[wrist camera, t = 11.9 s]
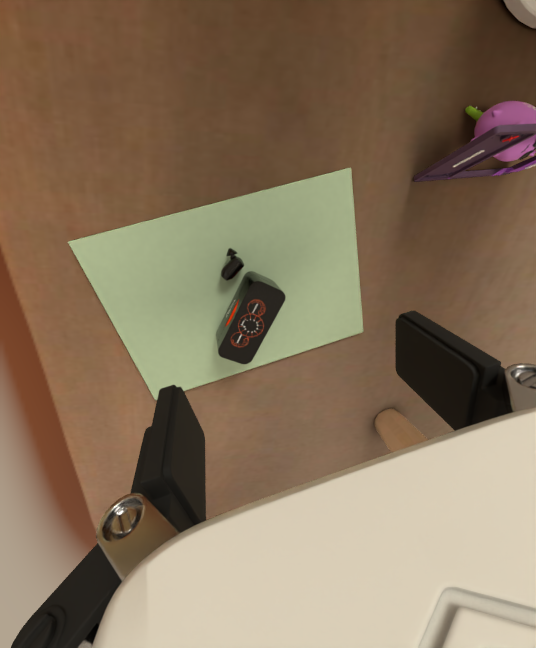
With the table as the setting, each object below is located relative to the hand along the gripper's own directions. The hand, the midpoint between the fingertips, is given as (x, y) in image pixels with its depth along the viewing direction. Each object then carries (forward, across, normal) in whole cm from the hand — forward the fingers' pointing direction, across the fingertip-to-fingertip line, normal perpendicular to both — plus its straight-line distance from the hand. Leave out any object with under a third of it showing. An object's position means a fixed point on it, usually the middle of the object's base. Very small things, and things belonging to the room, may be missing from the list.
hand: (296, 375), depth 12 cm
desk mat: (+12, +1, +1) cm, 12 cm away
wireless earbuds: (+12, +1, +1) cm, 12 cm away
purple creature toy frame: (+13, -19, -6) cm, 24 cm away
